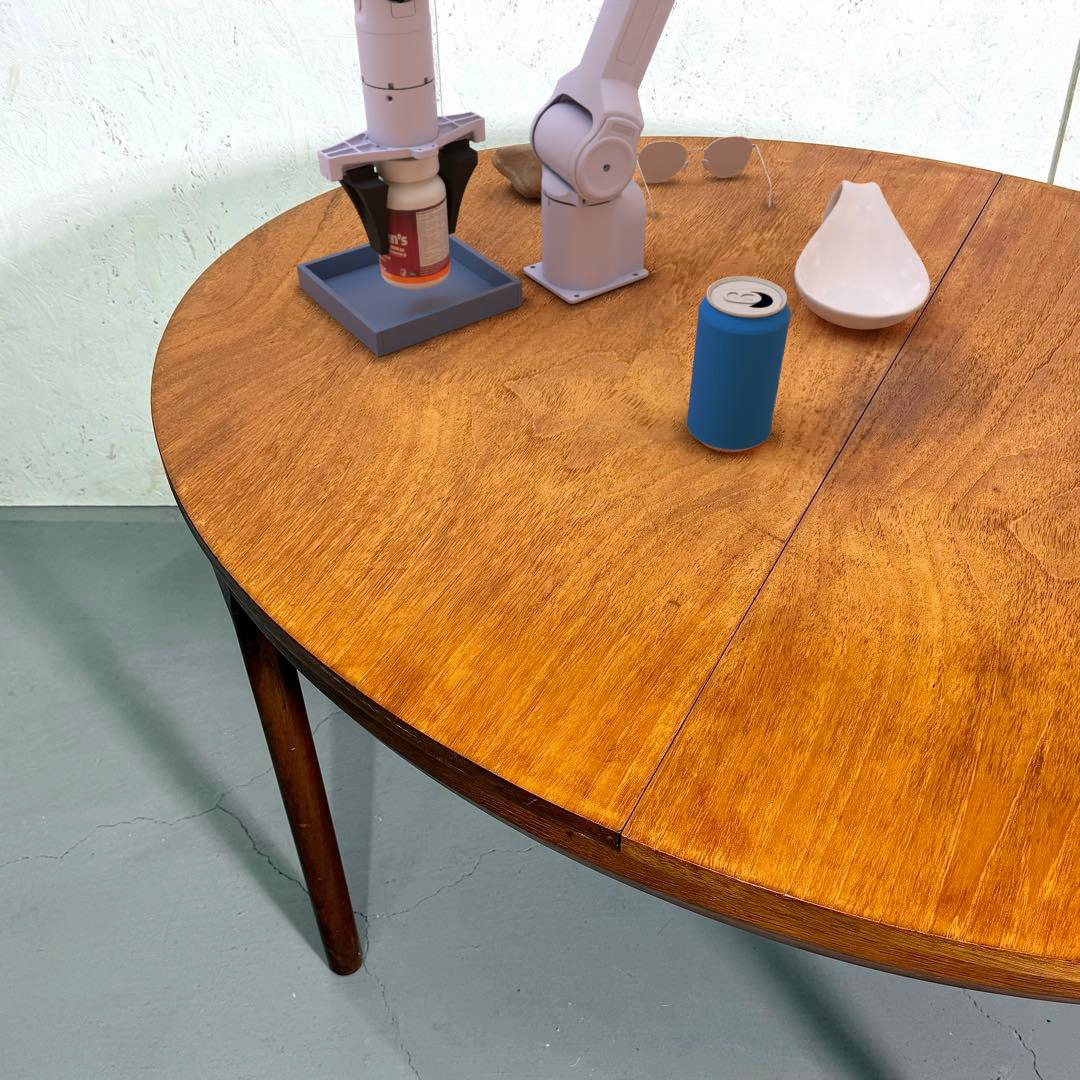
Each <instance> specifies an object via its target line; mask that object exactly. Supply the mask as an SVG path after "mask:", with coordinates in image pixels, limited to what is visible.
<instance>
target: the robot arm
mask: <svg viewBox="0 0 1080 1080" xmlns="http://www.w3.org/2000/svg"><path fill="white" fill-rule="evenodd" d="M675 2H676V0H603V2H602V4H601V7H600V10H599V12H598V14H597V17H596V20H595V23H594V26H593V28H592V31H591V33H590V36H589V39H588V41H587V42H586V43H587V44H586V47H585V49H584V51H583V53H582V57H581V60H580V62H579V64H578V65H577V66H575V67H574V68H572V69H571V70H570V71H568V72H567V73H565V74H564V75H562V76H561V77H560V78H558V80H557V82H556V85H555V88H554V89H553V91H552V93H551V95H550V97H549V99H548V100H547V101H546V103H544V104H543V105H542V106H541V108H539V110H538V111H537V113H536V114H535V115H534V118H533V119H532V122H531V125H530V127H529V129H530V130H529V135H528V137H529V138H528V139H529V144H530V146H531V150H532V152H533V154H534V155H535V157H536V158H537V159H538V160H539V161H540V162H541V163H542V199H541V261H538V262H535V263H533V264H530V265H526V266H525V267H524V268H523V274H524V275H526V276H528V277H529V278H531V279H532V280H533V281H535V282H536V283H538V284H539V285H541V286H543V288H546V289H547V290H549V292H552V293H553V294H554V295H556V296H557V297H559V298H561V299H562V300H563V301H565V302H566V303H568V304H571V305H573V304H577V303H581V302H582V301H583V302H584V301H585V300H588V299H591V298H593V297H596V296H599V295H601V294H605V293H607V292H610V291H612V290H615V289H618V288H621V287H623V286H626V285H628V284H631V283H634V282H637V281H639V280H643V279H645V278H648V277H649V273H650V272H649V271H648V269H645V268H644V262H645V245H646V231H647V229H646V228H647V204H646V200H645V196H644V193H643V191H642V188H641V187H640V186H639V184H638V182H636V181H635V179H633V177H634V176H635V175H634V174H635V172H636V168H637V160H638V155H637V152H638V145H639V141H640V138H641V135H642V132H643V131H644V128H645V119H644V115H643V112H642V107H641V102H640V98H639V89H640V87H641V85H642V83H643V79H644V77H645V75H646V72H647V70H648V68H649V66H650V63H651V60H652V58H653V55H654V53H655V51H656V48H657V46H658V44H659V41H660V38H661V36H662V34H663V31H664V30H665V26H666V24H667V22H668V19H669V17H670V14H671V12H672V9H673V7H674V4H675ZM353 5H354V6H353V7H354V25H355V34H356V43H357V50H358V51H357V53H358V60H359V69H360V77H361V86H362V94H363V95H362V97H363V104H364V112H365V122H366V130H364V131H361V132H360V133H358V134H356V135H354V136H351V137H349V138H347V139H344V140H343V141H341V142H339V143H336V144H334V145H332V146H329V147H326V148H322V149H319V150H317V157H318V165H319V172H320V173H319V174H320V175H321V176H323V178H325V179H327V180H329V182H331V183H335V182H338V183H339V184H340V185H341V188H342V189H343V190H344V192H345V193H346V195H347V197H348V198H349V200H350V201H351V203H352V205H353V207H354V208H355V210H356V212H357V215H358V216H359V219H360V221H361V223H362V226H363V228H364V231H365V234H366V236H367V239H368V243H370V247H371V248H372V249H373V250H375V251H376V252H377V253H379V254H380V255H386V254H389V237H388V229H387V219H386V211H387V196H388V189H389V185H388V184H386V183H385V182H383V181H382V180H380V179H379V175H378V172H376V169H375V168H376V166H380V165H381V161H386V160H391V159H400V158H409V157H414V158H416V159H425V158H429V157H432V156H436V155H438V161H439V171H438V173H437V175H439V176H440V177H441V179H442V180H443V182H444V184H445V189H446V203H447V220H448V234H449V235H450V234H452V235H454V234H455V233H456V230H457V224H458V219H459V218H458V217H459V213H460V209H461V205H462V201H463V198H464V194H465V192H466V189H467V187H468V184H469V181H470V180H471V177H472V175H473V173H474V172H475V170H476V168H477V167H478V165H479V153H478V151H477V150H476V149H474V148H473V147H471V146H470V145H471V144H470V142H472V143H474V144H478V143H481V142H485V141H486V119H485V117H484V116H481V115H480V114H478V113H476V112H474V111H467V112H463V113H462V112H461V113H455V114H449V115H447V114H446V115H438V105H437V103H438V102H437V101H438V100H437V88H436V87H437V86H436V74H435V59H434V47H433V45H434V44H433V31H432V15H431V12H430V0H353Z"/></svg>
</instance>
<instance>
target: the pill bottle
mask: <svg viewBox="0 0 1080 1080" xmlns="http://www.w3.org/2000/svg"><path fill="white" fill-rule="evenodd" d="M438 171H439V161H438V155H436V156H432V157H429V158H425V159H416V158H414V157H409V158H400V159H391V160H386V161H381V165H380V166H376V167H375V172H378V175H379V179H380V180H382V181H383V182H385V183H386V184H388V185H389V189H388V196H387V211H386V219H387V229H388V237H389V254H386V255H380V254H379V260H380V268H381V274H382V277H383V278H384V280H385V281H386V282H387V283H388V284H390V285H392V286H394V287H397V288H400V289H405V290H419V289H426V288H430V287H433V286H436V285H438V284H440V283H442V282H443V281H444V280H446V278H447V277H448V276H449V273H450V253H449V236H448V220H447V203H446V189H445V184H444V182H443V180H442V179H441V177H440V176H439V175H437V173H438Z"/></svg>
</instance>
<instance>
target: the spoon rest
mask: <svg viewBox="0 0 1080 1080" xmlns="http://www.w3.org/2000/svg"><path fill="white" fill-rule="evenodd" d="M834 189H835V190H834V191H833V193H832V195H831V196H830V198H829V200H828V202H827V205H826V207H825V209H824V213H823V216H822V219H821V225H820V226H819V227H818V229H817V230H816V231H815V232H814V234H813V235H812V236H811V238H810V239H809V241H808V242H807V244H806V245H805V247H804V248H803V250H802V251H801V253H800V254H799V257H798V258H797V261H796V263H795V266H794V271H793V273H794V274H793V277H794V278H793V279H794V284H795V287H796V290H797V293H798V294H799V297H800V298H801V299H802V300H803V302H804V303H805V305H806V306H807V307H808V309H809V310H810V311H812V312H813V313H814V314H816V315H817V316H818V317H819V318H821V319H823V320H825V321H827V322H829V323H831V324H833V325H836V326H840V327H843V328H848V329H853V330H877V329H883V328H888V327H891V326H894V325H897V324H899V323H902V322H904V321H905V320H907V319H908V318H911V317H912V316H913V315H915V314H916V313H917V312H918V311H919V310H920V309H922V307H923V306H924V304H925V303H926V302H927V300H928V298H929V296H930V292H931V279H930V276H929V274H928V271H927V269H926V266H925V265H924V262H923V261H922V259H921V257H920V255H919V254H918V252H917V251H916V248H915V247H914V245H913V244H912V243H911V241H910V240H909V238H908V236H907V234H906V233H905V231H904V230H903V227H901V225H900V223H899V222H898V219H897V218H896V217H895V214H894V213H893V211H892V209H891V208H890V206H889V204H888V202H887V200H886V198H885V196H884V194H883V191H882V190H881V188H880V185H878V183H877V182H874V181H871V182H866V183H855V182H852V181H849V180H848V179H847V180H846V179H844V180H842V181H840V183H839V184H838V185H837V186H836V188H834Z"/></svg>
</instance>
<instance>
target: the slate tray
mask: <svg viewBox="0 0 1080 1080" xmlns="http://www.w3.org/2000/svg"><path fill="white" fill-rule="evenodd" d="M448 236H449V253H450V273H449V276H448V277H447V278H446V280H444V281H443V282H442V283H440V284H438V285H436V286H433V287H430V288H426V289H419V290H405V289H400V288H397V287H394V286H392V285H390V284H388V283H387V282H386V281H385V280H384V278H383V277H382V274H381V268H380V260H379V253H377V252H376V251H375V250H373V249H372V248H371V247H370V243H369V242H367V243H364V244H360V245H358V246H354V247H351V248H348V249H344V250H341V251H338V252H333V253H332V254H327V255H324V256H321V257H318V258H314V259H312V260H308V261H305V262H302V263H298V264H296V265H295V266H296V270H297V271H296V273H297V276H298V283H299V289H301V290H302V291H303V293H305V294H306V295H307V296H308V297H309V298H311V299H312V301H314V302H316V304H318V305H319V306H320V307H321V308H322V309H324V311H326V313H328V314H329V315H330V316H331V317H332V318H334V319H335V320H336V322H338V323H339V324H340V325H341V326H342V327H344V329H346V330H347V331H348V332H350V334H351V335H353V336H354V337H355V338H356V339H357V340H358V341H359V342H361V343H362V344H363V345H364V346H365V347H367V349H369V350H370V351H371V352H372V353H373V354H374V355H375V356H376V357H377V358H380V357H383V356H386V355H389V354H391V353H394V352H396V351H400V350H403V349H404V348H407V347H411V346H413V345H416V344H419V343H422V342H424V341H427V340H430V339H433V338H435V337H438V336H441V335H444V334H446V333H449V332H452V331H455V330H458V329H460V328H463V327H467V326H469V325H472V324H474V323H477V322H480V321H482V320H486V319H488V318H492V317H494V316H496V315H499V314H502V313H505V312H507V311H511V310H513V309H516V308H519V307H521V306H523V303H524V301H523V281H521V280H520V279H519V278H518V277H516V276H514V275H513V274H511V273H510V272H508V271H507V270H506V269H504V268H503V267H501V266H500V265H498V264H497V263H496V262H494V261H492V260H491V259H489V258H488V257H487V256H485V255H483V254H482V253H480V252H479V251H478V250H476V249H475V248H473V247H472V246H470V245H468V244H467V243H465V241H463V240H461V239H460V238H458V237H457V236H455V235H454V234H450V235H449V234H448Z"/></svg>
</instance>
